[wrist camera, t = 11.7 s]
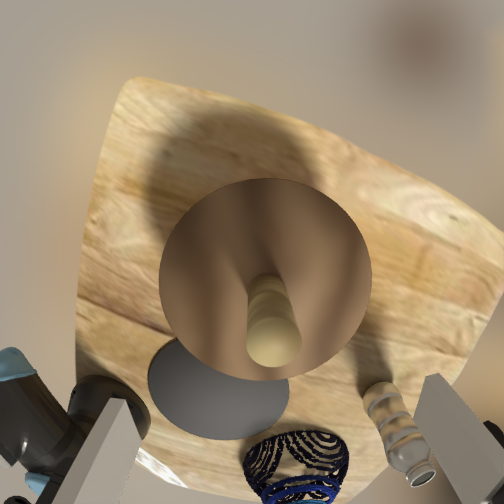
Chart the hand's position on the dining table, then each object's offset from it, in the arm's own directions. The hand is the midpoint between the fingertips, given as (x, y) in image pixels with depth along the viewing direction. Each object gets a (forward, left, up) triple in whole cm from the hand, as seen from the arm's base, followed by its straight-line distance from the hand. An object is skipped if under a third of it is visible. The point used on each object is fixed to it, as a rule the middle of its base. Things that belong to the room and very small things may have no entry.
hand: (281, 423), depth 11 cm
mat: (-8, -21, -28) cm, 36 cm away
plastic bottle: (+18, -24, -28) cm, 41 cm away
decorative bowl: (+5, -41, -28) cm, 50 cm away
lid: (0, -1, -19) cm, 19 cm away
